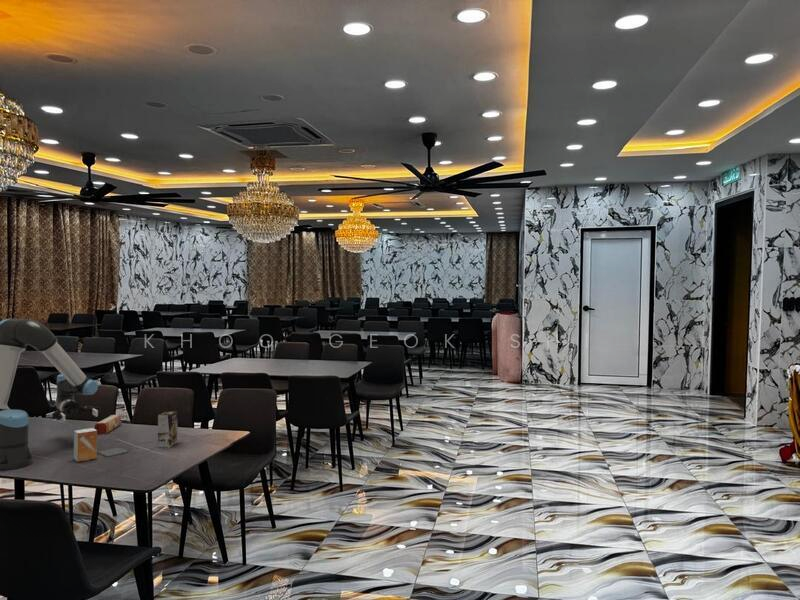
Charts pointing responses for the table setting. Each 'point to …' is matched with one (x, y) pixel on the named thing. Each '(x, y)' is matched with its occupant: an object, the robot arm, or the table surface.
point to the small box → (85, 444)
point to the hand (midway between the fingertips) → (80, 416)
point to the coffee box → (167, 429)
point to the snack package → (108, 424)
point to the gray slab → (112, 452)
